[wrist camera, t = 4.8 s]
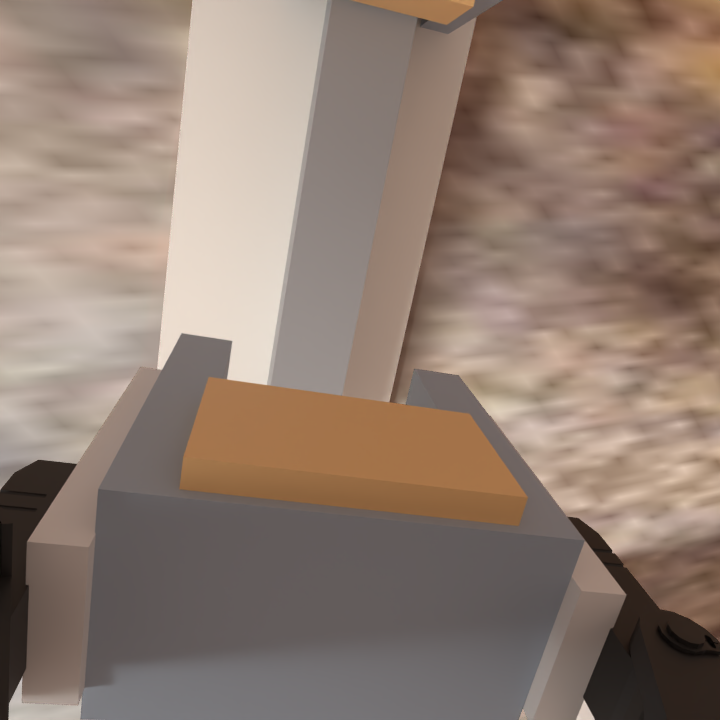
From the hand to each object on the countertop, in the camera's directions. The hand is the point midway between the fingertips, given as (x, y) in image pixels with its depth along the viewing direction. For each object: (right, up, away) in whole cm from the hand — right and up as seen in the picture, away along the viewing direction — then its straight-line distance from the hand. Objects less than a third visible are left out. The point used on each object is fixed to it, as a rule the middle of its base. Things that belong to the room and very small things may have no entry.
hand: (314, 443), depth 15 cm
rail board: (-1, +11, +11) cm, 16 cm away
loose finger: (0, 0, +1) cm, 1 cm away
